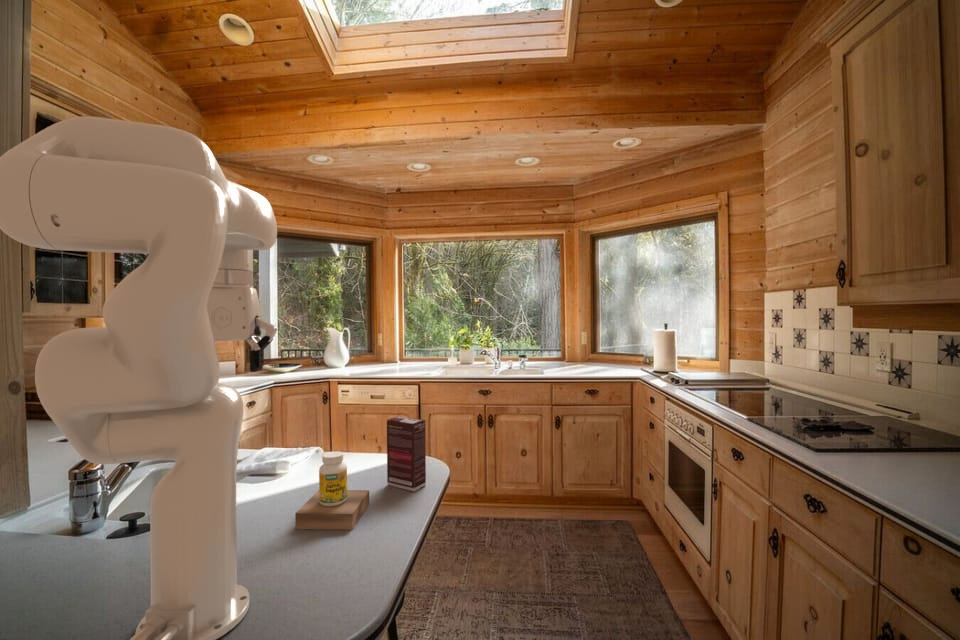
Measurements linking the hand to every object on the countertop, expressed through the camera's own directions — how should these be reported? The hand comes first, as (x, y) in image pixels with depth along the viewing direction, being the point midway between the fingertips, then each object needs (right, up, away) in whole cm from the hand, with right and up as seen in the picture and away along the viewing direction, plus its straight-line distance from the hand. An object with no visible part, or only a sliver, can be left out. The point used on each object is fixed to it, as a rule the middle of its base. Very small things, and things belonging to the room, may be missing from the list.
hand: (231, 370), depth 81 cm
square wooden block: (+18, -30, +6) cm, 36 cm away
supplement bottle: (+17, -27, +5) cm, 33 cm away
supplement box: (+30, -30, +21) cm, 47 cm away
